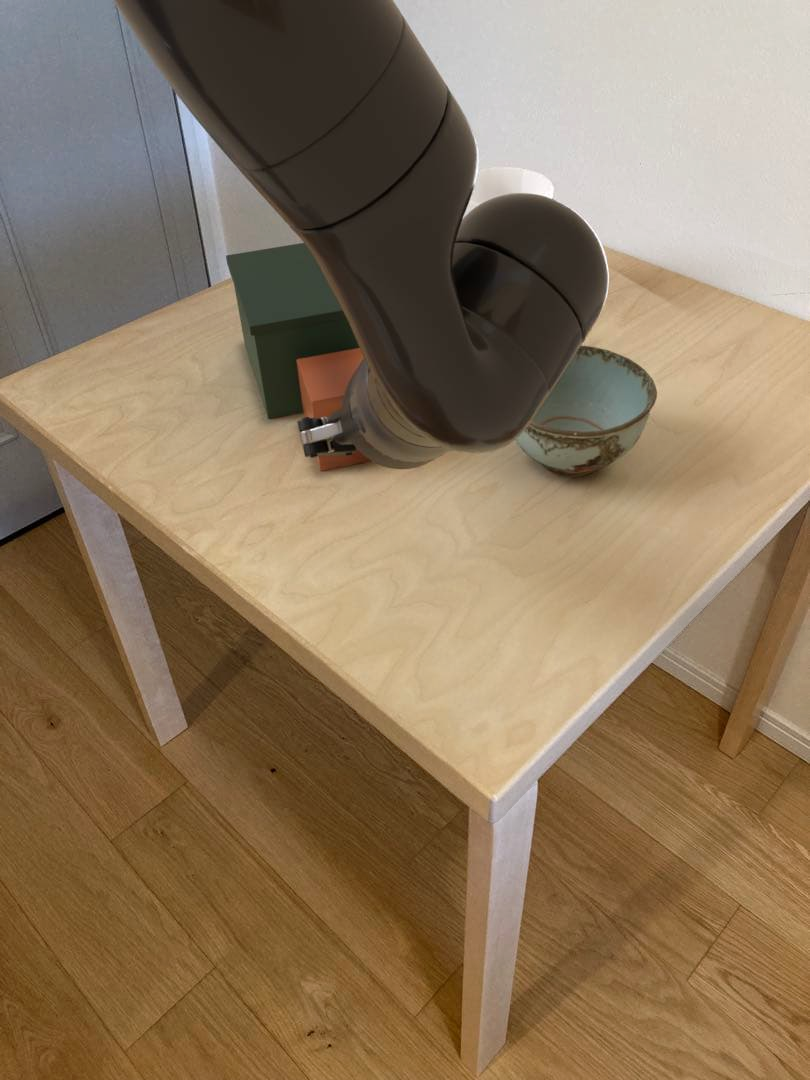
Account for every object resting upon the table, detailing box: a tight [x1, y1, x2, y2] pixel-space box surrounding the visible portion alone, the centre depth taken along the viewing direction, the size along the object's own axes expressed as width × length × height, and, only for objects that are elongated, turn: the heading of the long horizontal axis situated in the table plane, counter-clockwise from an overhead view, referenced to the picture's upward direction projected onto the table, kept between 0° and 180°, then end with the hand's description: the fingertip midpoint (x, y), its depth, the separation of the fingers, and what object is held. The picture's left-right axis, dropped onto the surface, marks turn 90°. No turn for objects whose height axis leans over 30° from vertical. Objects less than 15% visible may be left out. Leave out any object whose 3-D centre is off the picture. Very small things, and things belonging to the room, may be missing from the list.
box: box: [225, 242, 359, 420], centre depth 92 cm, size 15×15×11 cm
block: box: [297, 348, 372, 472], centre depth 84 cm, size 7×7×8 cm
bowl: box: [514, 345, 658, 478], centre depth 81 cm, size 14×13×8 cm
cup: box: [463, 166, 554, 218], centre depth 100 cm, size 10×10×14 cm
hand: (369, 439), depth 70 cm, fingers closed
